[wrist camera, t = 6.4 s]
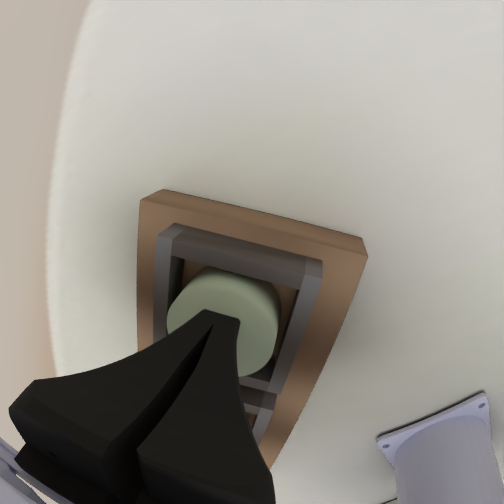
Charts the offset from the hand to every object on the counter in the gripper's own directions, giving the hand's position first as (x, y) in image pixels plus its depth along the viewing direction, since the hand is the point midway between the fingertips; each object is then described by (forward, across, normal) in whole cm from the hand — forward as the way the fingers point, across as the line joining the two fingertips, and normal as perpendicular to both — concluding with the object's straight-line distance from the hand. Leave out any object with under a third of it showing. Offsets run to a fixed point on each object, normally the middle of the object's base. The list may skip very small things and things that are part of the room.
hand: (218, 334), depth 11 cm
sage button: (+2, 0, 0) cm, 2 cm away
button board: (+4, 0, +7) cm, 8 cm away
